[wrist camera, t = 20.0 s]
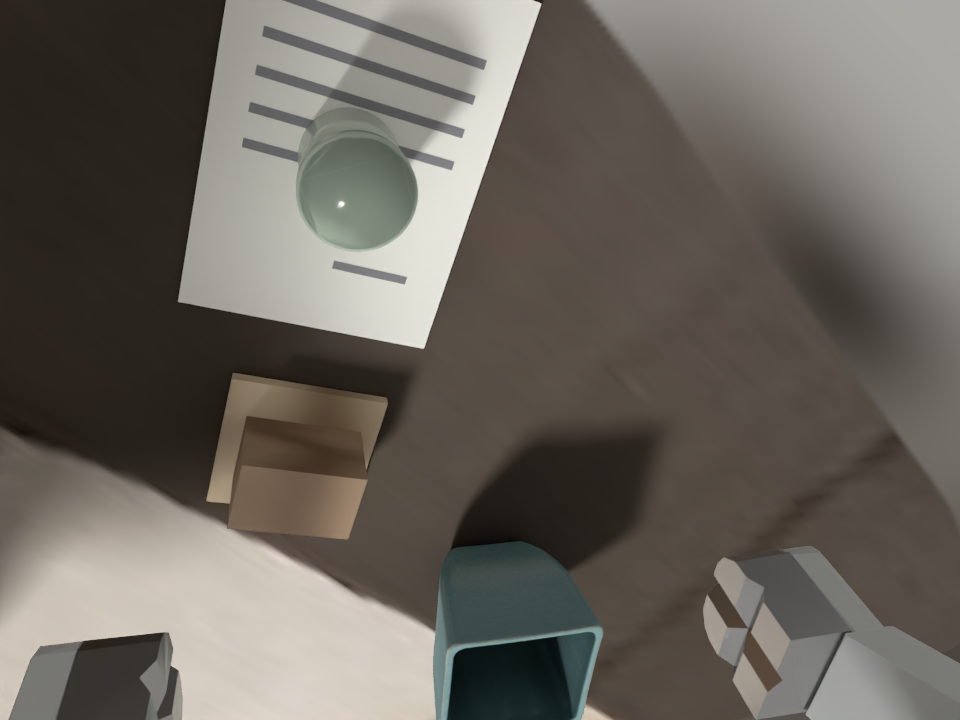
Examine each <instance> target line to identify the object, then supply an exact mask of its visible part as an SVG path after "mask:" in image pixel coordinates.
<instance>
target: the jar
mask: <svg viewBox="0 0 960 720" xmlns="http://www.w3.org/2000/svg"><path fill="white" fill-rule="evenodd" d="M296 200H297V205H298V209H299V212H300V214H301V217H302V219H303V220H304V222H305V224H306V225H307V227H308V228H309V229H310V230H311V232H312V233H314V234H315V235H316V236H317V237H318V238H319V239H321V240H322V241H323V242H325V243H327V244H328V245H330V246H333V247H335V248H338V249H341V250H345V251H351V252H364V251H371V250H375V249H378V248H381V247H383V246H385V245H387V244H389V243H391V242H392V241H394V240H395V239H396V238H398V237H399V236H400V235H401V234H402V233H403V232H404V231H405V230H406V228H407V227H408V225H409V224H410V222H411V220H412V218H413V216H414V213H415V211H416V207H417V202H418V186H417V180H416V177H415V174H414V171H413V169H412V167H411V165H410V163H409V161H408V159H407V158H406V156H405V155H404V154H403V152H402V151H401V150H400V148H399V146H398V144H397V142H396V140H395V138H394V136H393V134H392V132H391V131H390V129H389V128H388V127H387V126H386V125H385V123H383V122H382V121H381V120H380V119H379V118H377V117H376V116H375V115H373V114H371V113H369V112H367V111H364V110H361V109H356V108H338V109H333V110H330V111H327V112H325V113H323V114H321V115H320V116H319V117H317V118H316V119H315V120H314V121H312V122H311V123H310V125H309V126H308V127H307V128H306V130H305V132H304V133H303V136H302V138H301V140H300V144H299V149H298V173H297V178H296Z"/></svg>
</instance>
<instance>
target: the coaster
mask: <svg viewBox="0 0 960 720" xmlns="http://www.w3.org/2000/svg"><path fill="white" fill-rule="evenodd" d="M387 405H388V401H387V398H386V397H380V396H374V395H368V394H361V393H355V392H349V391H343V390H337V389H331V388H325V387H318V386H312V385H306V384H300V383H294V382H288V381H281V380H275V379H269V378H263V377H257V376H251V375H244V374H238V373H233V374H232V379H231V384H230V389H229V393H228V398H227V403H226V408H225V413H224V417H223V422H222V427H221V432H220V437H219V441H218V446H217V451H216V456H215V461H214V466H213V470H212V475H211V480H210V485H209V490H208V495H207V501H209V502H219V503H229V504H230V498H231V489H232V480H233V474H234V469H235V465H236V460H237V456H238V452H239V447H240V443H241V438H242V434H243V429H244V425H245V421H246V416H251V417H258V418H265V419H272V420H279V421H286V422H293V423H300V424H307V425H314V426H321V427H328V428H335V429H342V430H349V431H356V432H361V435H362V443H363V450H364V458H365V465H366V469H367V466H368V463H369V460H370V457H371V454H372V451H373V448H374V445H375V442H376V439H377V436H378V433H379V430H380V427H381V424H382V421H383V418H384V414H385V411H386V408H387Z"/></svg>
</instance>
